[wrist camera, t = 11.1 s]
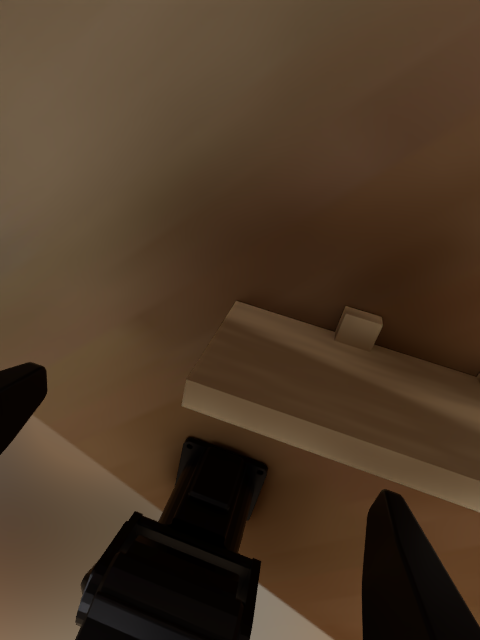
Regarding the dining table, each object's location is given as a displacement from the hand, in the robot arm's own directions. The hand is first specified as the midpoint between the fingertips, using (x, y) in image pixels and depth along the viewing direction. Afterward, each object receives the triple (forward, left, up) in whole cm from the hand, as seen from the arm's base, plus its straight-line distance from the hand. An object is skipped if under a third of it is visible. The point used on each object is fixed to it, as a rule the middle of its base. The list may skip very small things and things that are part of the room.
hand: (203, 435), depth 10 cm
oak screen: (-4, -6, -13) cm, 15 cm away
